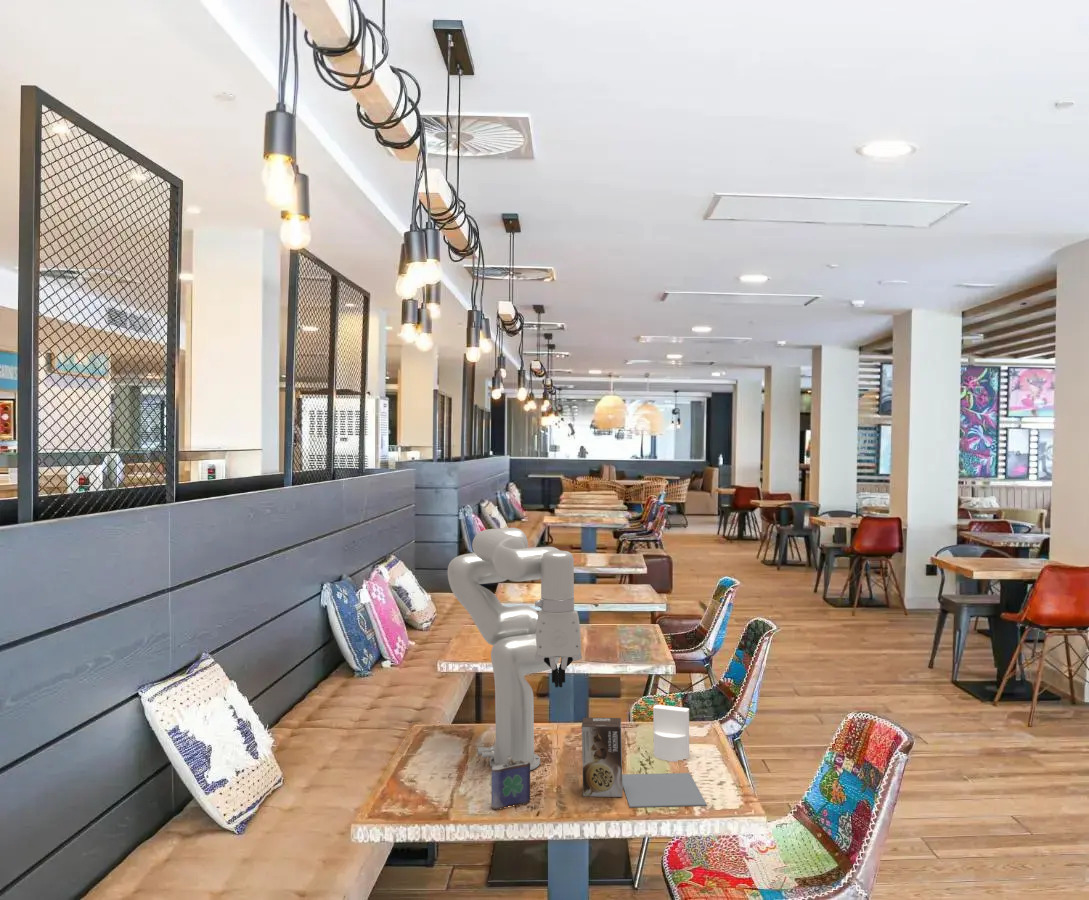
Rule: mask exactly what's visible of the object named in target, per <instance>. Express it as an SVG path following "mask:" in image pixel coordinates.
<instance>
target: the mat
mask: <svg viewBox="0 0 1089 900" xmlns="http://www.w3.org/2000/svg"><path fill="white" fill-rule="evenodd" d="M622 785H623V791H624V794H625V797H626V800H627V804H628V806H629V808H633V807H634V808H667V807H668V806H669V807H668V808H670V807H671V808H674V807H675V808H676V807H707V806H708V804H707V802H706V800H705V799H704V797H703V795H702V793H701V791H700V789H699V788H698V786H697V783H696V782H695V780H694V778H693V776H692V775H691V773H690V772H679V773H678V772H672V773H671V772H670V773H627V774H626V773H625V774H623V773H622ZM663 806H664V807H663Z"/></svg>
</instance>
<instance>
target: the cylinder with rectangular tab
mask: <svg viewBox="0 0 1089 900" xmlns="http://www.w3.org/2000/svg"><path fill="white" fill-rule="evenodd" d="M652 708H653V710H652V711H653V713H652V714H653V756H654V758H656V757H657V758H656V759H658V758H659V759H658V760H661V759H662V760H661V761H664V760H667V761H666V762H679V761H678V760H682V761H684V760H683V759H686V758H688V757H690V708H688V707H682V706H681V707H680V706H672V705H664V704H655V705H653V707H652ZM688 759H689V758H688ZM686 760H687V759H686Z"/></svg>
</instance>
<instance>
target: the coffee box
mask: <svg viewBox="0 0 1089 900" xmlns="http://www.w3.org/2000/svg"><path fill="white" fill-rule="evenodd" d="M622 739H623V737H622V719H621V717H583V718H582V721H581V749H582V750H581V752H582V757H581V758H582V763H581V764H582V797H601V798H602V797H605V798H608V797H609V798H611V797H612V798H622V797H623V791H624V788H623V785H622V774H623V750H622V749H623V745H622V744H623V743H622Z"/></svg>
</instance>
